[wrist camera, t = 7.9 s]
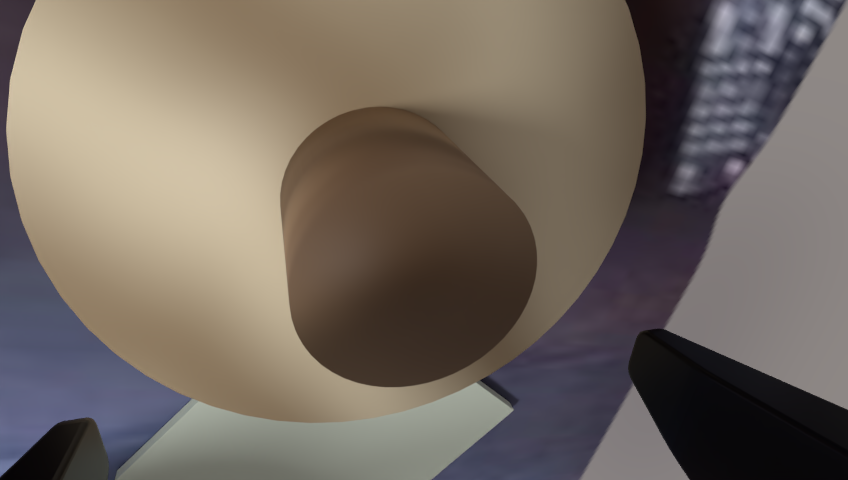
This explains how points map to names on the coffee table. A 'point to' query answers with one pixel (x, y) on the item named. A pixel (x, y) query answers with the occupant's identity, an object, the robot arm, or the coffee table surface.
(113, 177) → the oak lid
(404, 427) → the sage mat
